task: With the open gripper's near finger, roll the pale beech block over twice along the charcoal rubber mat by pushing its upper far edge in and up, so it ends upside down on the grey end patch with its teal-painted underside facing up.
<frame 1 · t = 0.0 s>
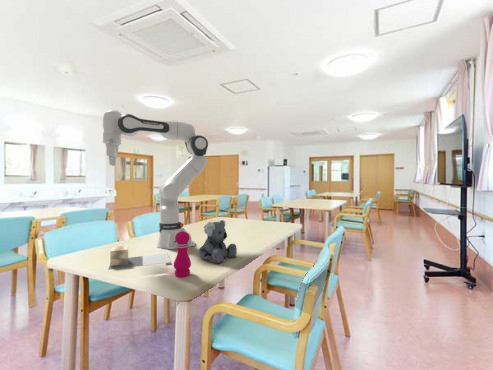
hand: (112, 165, 141), 48 cm above the table, tool pointing down, fingers open, 8 cm apart
koala plush: (215, 257, 132), on the table
pepper mill: (182, 275, 108), on the table
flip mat: (140, 262, 123), on the table
beech block: (119, 263, 119), point 1 cm above the table, touching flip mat
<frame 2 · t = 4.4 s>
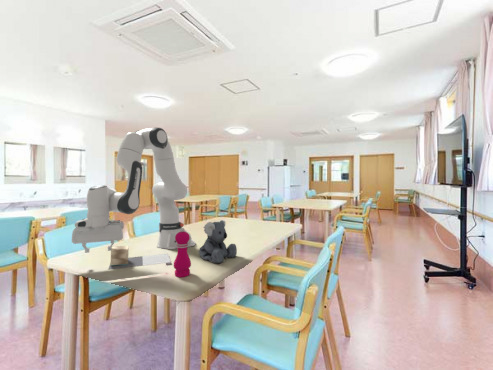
hand: (98, 251, 116), 7 cm above the table, tool pointing down, fingers open, 8 cm apart
beech block: (119, 262, 119), point 1 cm above the table, touching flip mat, gripper
everything else where it was.
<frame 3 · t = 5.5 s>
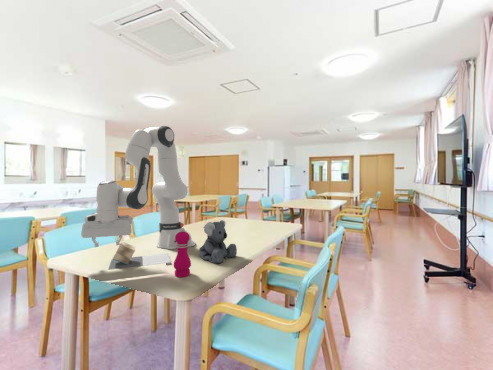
hand: (107, 245, 117), 10 cm above the table, tool pointing down, fingers open, 7 cm apart
beech block: (120, 259, 119), point 3 cm above the table, tilted 28°, touching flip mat, gripper
everything else where it was.
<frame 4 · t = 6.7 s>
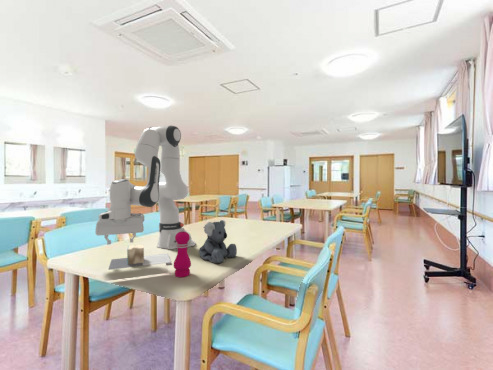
hand: (120, 243, 119), 10 cm above the table, tool pointing down, fingers open, 8 cm apart
beech block: (127, 254, 120), point 4 cm above the table, tilted 90°, touching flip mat
everything else where it was.
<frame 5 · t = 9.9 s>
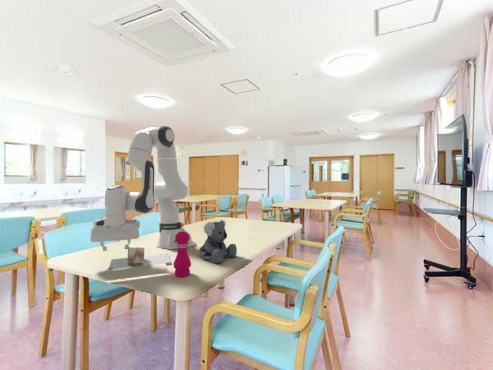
hand: (115, 249, 118), 7 cm above the table, tool pointing down, fingers open, 8 cm apart
beech block: (128, 254, 120), point 5 cm above the table, tilted 92°, touching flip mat, gripper
everything else where it was.
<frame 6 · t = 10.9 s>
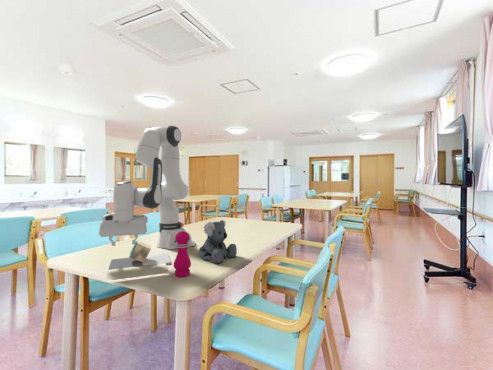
hand: (123, 244, 119), 10 cm above the table, tool pointing down, fingers open, 7 cm apart
beech block: (133, 248, 121), point 7 cm above the table, tilted 116°, touching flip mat, gripper
everything else where it was.
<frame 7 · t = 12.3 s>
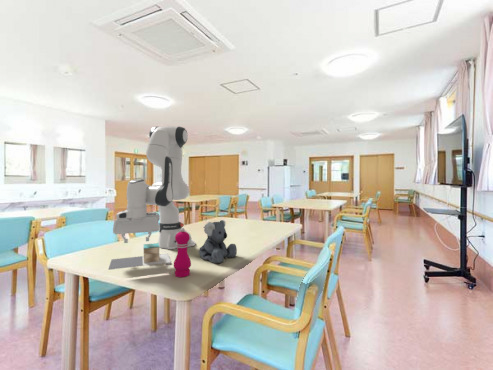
hand: (136, 241, 122), 10 cm above the table, tool pointing down, fingers open, 8 cm apart
beech block: (151, 245, 124), point 8 cm above the table, tilted 180°, touching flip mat
everything else where it was.
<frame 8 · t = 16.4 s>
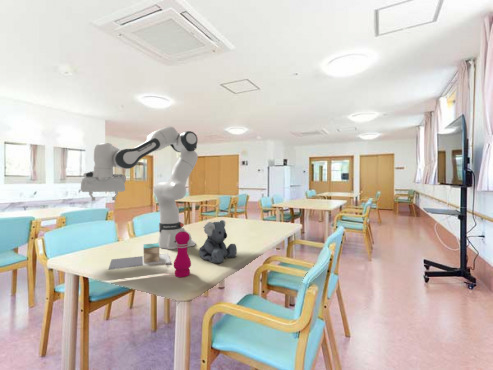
hand: (103, 200, 133), 29 cm above the table, tool pointing down, fingers open, 8 cm apart
nothing on the table moved.
at the end: beech block tilted 180°; beech block inside the target area (0.0 cm from its centre), point 8.0 cm above the table; the gripper is holding nothing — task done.
